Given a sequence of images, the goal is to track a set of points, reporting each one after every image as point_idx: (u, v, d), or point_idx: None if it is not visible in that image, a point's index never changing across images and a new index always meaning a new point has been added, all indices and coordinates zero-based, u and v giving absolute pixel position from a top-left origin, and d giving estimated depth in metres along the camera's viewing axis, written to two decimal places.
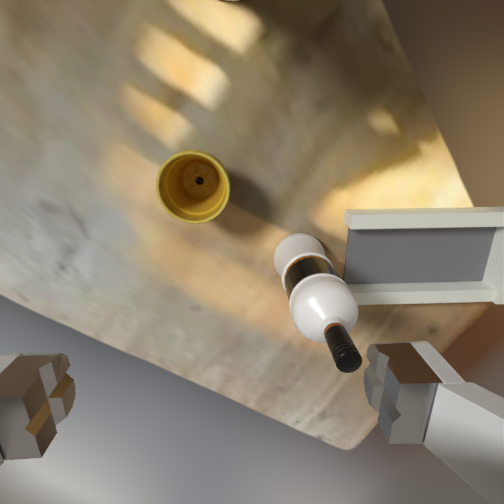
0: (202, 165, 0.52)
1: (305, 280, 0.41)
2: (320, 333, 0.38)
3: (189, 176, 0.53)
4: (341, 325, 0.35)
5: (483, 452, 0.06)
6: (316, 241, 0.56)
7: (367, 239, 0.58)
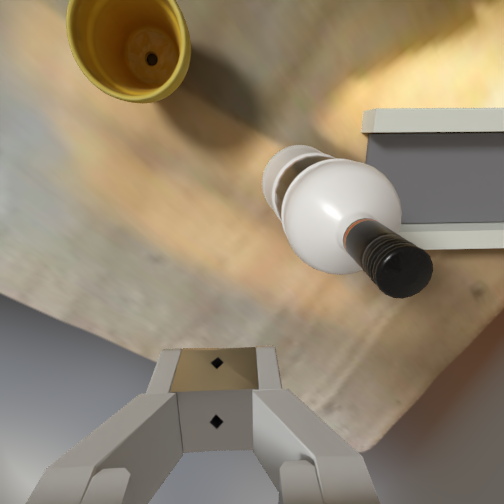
0: (154, 33, 0.35)
1: (308, 169, 0.24)
2: (334, 248, 0.21)
3: (136, 51, 0.36)
4: (377, 222, 0.19)
5: (281, 460, 0.06)
6: None
7: (394, 156, 0.41)
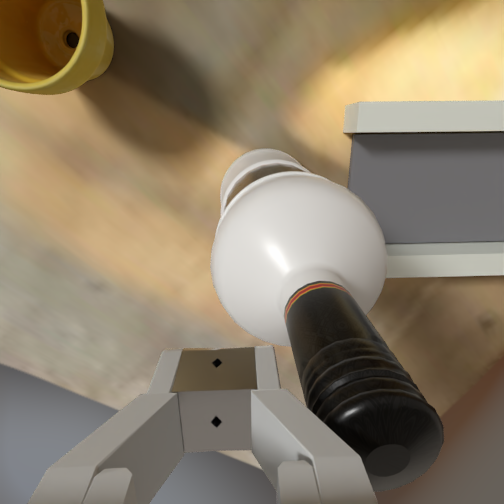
0: (72, 5, 0.27)
1: (249, 188, 0.16)
2: (278, 320, 0.13)
3: (50, 29, 0.28)
4: (341, 289, 0.11)
5: (280, 460, 0.06)
6: (294, 160, 0.31)
7: (385, 162, 0.33)
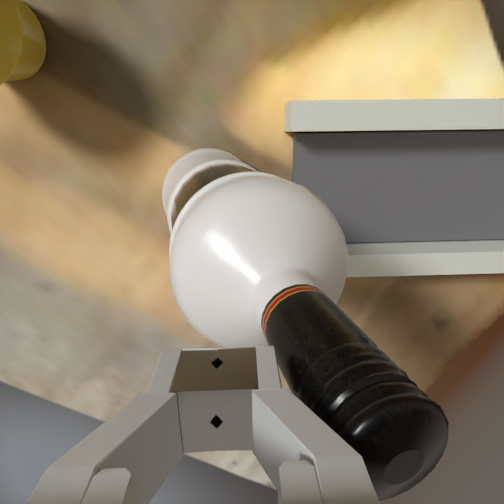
0: None
1: (204, 190, 0.15)
2: (251, 328, 0.12)
3: None
4: (318, 291, 0.10)
5: (281, 460, 0.06)
6: (237, 159, 0.30)
7: (327, 162, 0.33)
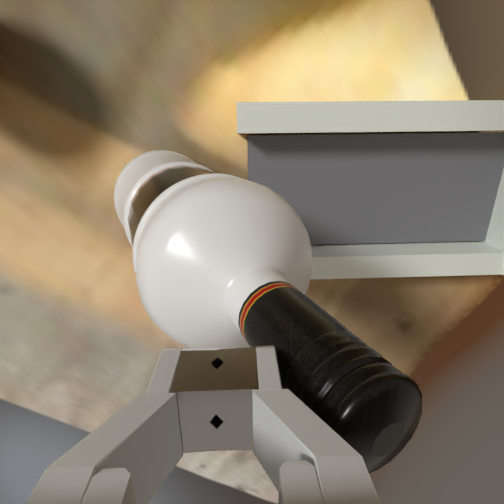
0: None
1: (167, 193, 0.15)
2: (226, 328, 0.13)
3: None
4: (292, 287, 0.11)
5: (281, 460, 0.06)
6: (192, 161, 0.30)
7: (282, 163, 0.33)
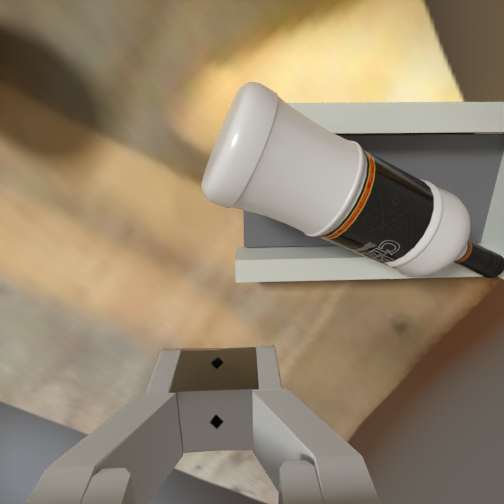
0: None
1: None
2: None
3: None
4: None
5: (281, 460, 0.06)
6: None
7: None
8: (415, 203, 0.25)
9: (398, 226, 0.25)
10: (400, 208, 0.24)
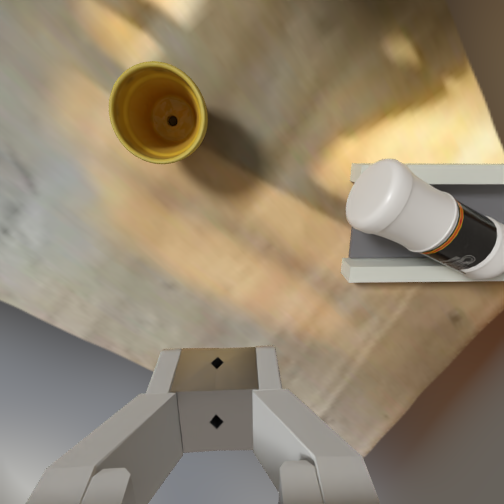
0: (175, 100, 0.42)
1: None
2: None
3: (159, 114, 0.42)
4: None
5: (281, 460, 0.06)
6: None
7: None
8: (486, 232, 0.39)
9: (476, 247, 0.39)
10: (478, 235, 0.39)
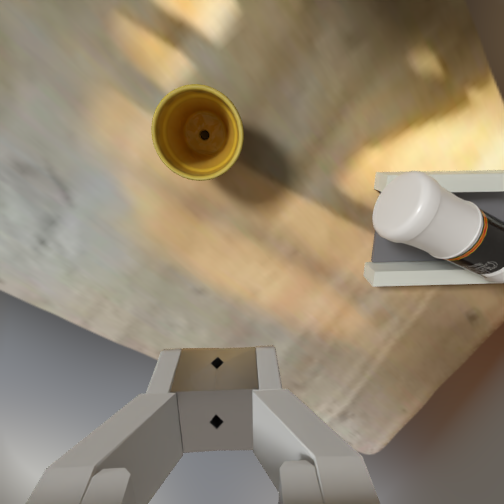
0: (208, 115, 0.43)
1: None
2: None
3: (192, 129, 0.44)
4: None
5: (281, 460, 0.06)
6: None
7: None
8: None
9: (499, 253, 0.41)
10: (501, 243, 0.41)
